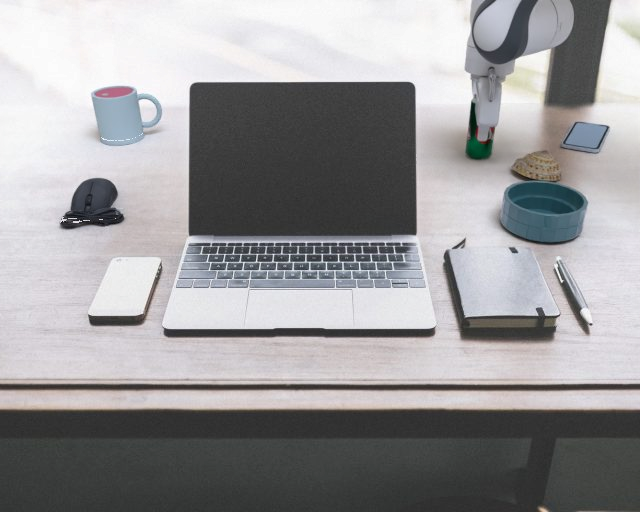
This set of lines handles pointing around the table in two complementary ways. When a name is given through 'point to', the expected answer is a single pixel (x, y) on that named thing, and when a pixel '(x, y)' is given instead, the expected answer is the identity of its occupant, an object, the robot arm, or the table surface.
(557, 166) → the seashell
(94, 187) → the computer mouse
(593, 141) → the smartphone
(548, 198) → the bowl
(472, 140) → the soda can
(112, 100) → the mug
